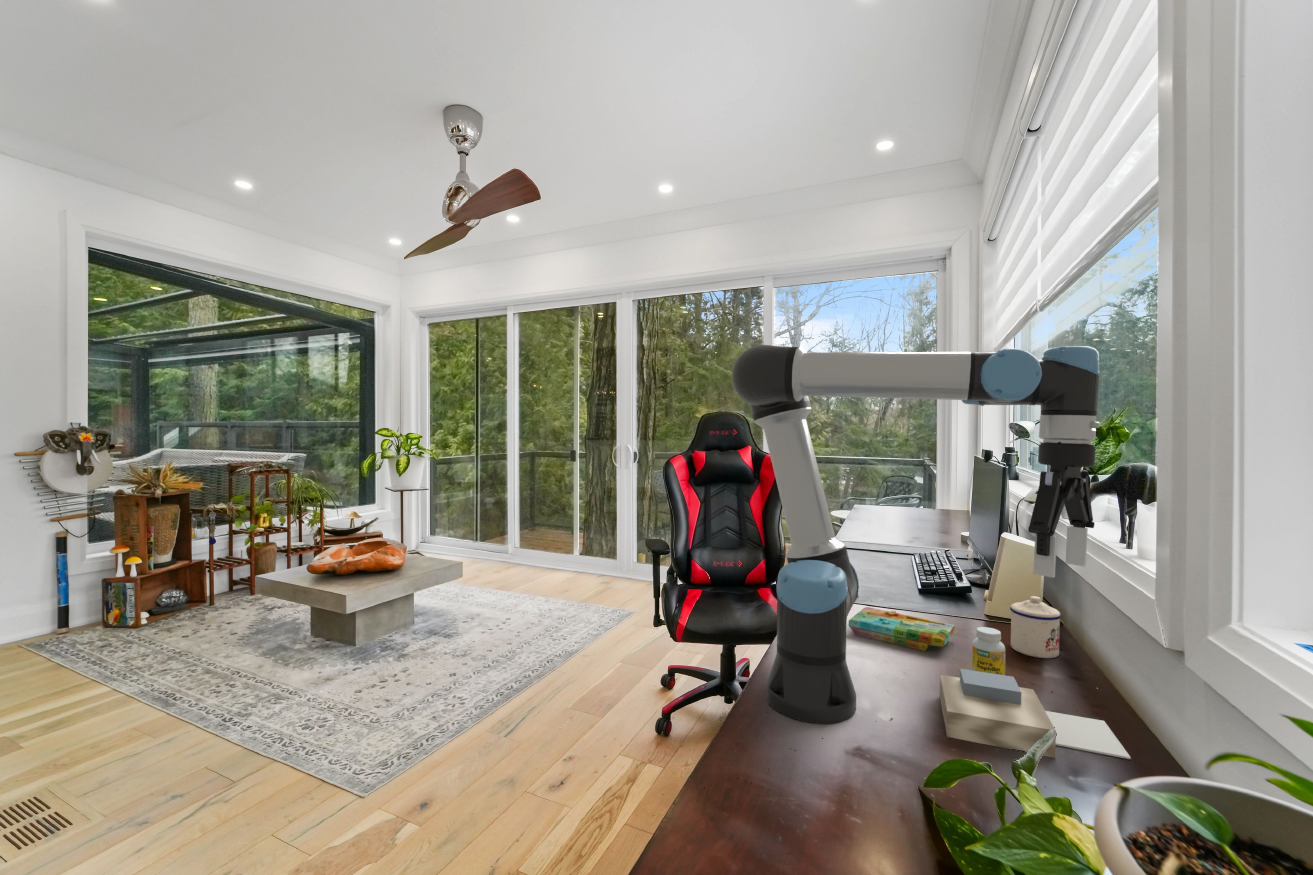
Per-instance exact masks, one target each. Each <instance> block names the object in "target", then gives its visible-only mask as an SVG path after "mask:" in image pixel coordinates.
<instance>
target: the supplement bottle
mask: <svg viewBox="0 0 1313 875" xmlns="http://www.w3.org/2000/svg"><path fill="white" fill-rule="evenodd" d="M1001 632H1002V631H1000V630H999V629H996V628H993V627H986V626H979V627H976V637H975V638H974V640H973V641H972V659H971V660H972V669H971V670H973V671H979V672H986V673H992V674H999V675H1005V676H1006V646H1005V644H1004V643H1003V642H1002V641H1001V640H1002V633H1001Z"/></svg>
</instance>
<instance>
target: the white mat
mask: <svg viewBox="0 0 1313 875" xmlns="http://www.w3.org/2000/svg"><path fill="white" fill-rule="evenodd" d="M1045 712H1046V714H1047V716H1048V717H1049V719H1050V721H1051V723H1052V725H1053V727H1055V730H1056V733H1057V736H1056V746H1059V747H1064V748H1069V749H1073V750H1079V751H1084V752H1090V753H1094V754H1095V753H1096V754H1100V755H1106V756H1110V757H1116V758H1122V759H1125V760H1131V759H1132V758H1131V756H1130V754H1129V753H1128V751H1127V750H1126V749H1125V748H1124V746H1123V744H1122V743H1121V742H1120V741H1119V739H1118V738H1117V736H1116V735H1115V734H1114V732H1113V731H1112V730H1111V728H1110V727H1109V725H1108V724H1107V723H1106V722H1105V720H1100V719H1095V718H1088V717H1082V716H1079V715H1078V716H1077V715H1071V714H1067V713H1066V714H1065V713H1061V712H1053V711H1049V710H1045Z"/></svg>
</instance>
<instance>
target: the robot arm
mask: <svg viewBox="0 0 1313 875" xmlns="http://www.w3.org/2000/svg"><path fill="white" fill-rule="evenodd" d="M1100 377H1101V373H1100V355H1099V351H1098V350H1097V349H1096V348H1095V347H1093V346H1085V345H1084V346H1083V345H1080V346H1079V345H1068V346H1057V347H1056V346H1055V347H1050V348H1047V349H1045V350H1044V352H1043V354H1042V357H1041V359H1037V358H1036V357H1035V355H1033V353H1030V352H1029V351H1026V350H1024V349H1019V348H1003V349H1001V350H998V351H975V352H974V351H973V352H971V351H904V352H903V351H895V352H894V351H889V352H888V351H887V352H886V351H885V352H884V351H882V352H881V351H880V352H877V351H876V352H873V351H872V352H870V351H869V352H868V351H867V352H859V351H858V352H856V351H855V352H847V351H846V352H808V351H807V350H805V349H804V347H802V346H784V345H783V346H780V345H770V344H760V345H759V344H757V345H755V346H754V345H753V346H750V347H749V348H747V349H745V351H742V352H741V354H740V355H739V356H738V357H737V358H736V360H735V362H734V363H733V367H732V370H731V381H732V386H733V389H734V390H735V393H736V394H737V395H738V396H739V398H740V399H741V400H742V401H745V403H747V404H749V406H750V409H751V413H752V418H753V422H754V424H756V425H757V426H759V427H760V428H762V429H763V432H764V435H765V439H766V444H767V447H768V448H767V449H768V452H769V455H770V456H769V457H770V461H771V463H772V468H773V473H774V477H775V481H776V485H777V489H778V493H779V498H780V502H781V505H782V510H783V514H784V518H785V523H786V528H787V532H788V535H789V540H790V543H791V545H790V548H788V550H787V552H786V554H785V556H786V560H787V564H785V565H783V567H781V568H780V570H779V572H778V575H777V582H776V584H775V585H776V599H777V600H776V654H775V657H774V661H773V663H772V666H771V669H770V672H769V675H768V678H767V681H766V687H765V688H766V689H765V690H766V694H765V696H766V697H765V698H766V701H767V702H768V705H770V706H771V707H772V708H773V709H774V710H776V711H777V712H779V713H780V714H782V715H784V716H786V717H789V718H792V719H795V720H798V721H803V722H807V723H815V724H830V723H831V724H832V723H839V722H842V721H845V720H848V719H849V718H851V717H852V716H854V714H855V713H856V711H857V693H856V688H855V686H854V682H853V679H852V677H851V673H850V671H849V670H850V669H849V666H848V664H847V620H848V616H849V613H850V611H851V610H852V608H853V605H854V604H855V603H856V600H857V598H858V594H859V589H860V587H859V586H860V585H859V578H858V574H857V571H856V569H855V567H854V565H853V564H852V563H851V561H850V557H849V554H848V551H847V550H848V549H847V545H846V543H845V542H843V540H840V539H839V538H837V537H836V534H835V531H834V527H833V523H832V518H831V514H830V510H829V506H828V503H827V499H826V494H825V489H824V487H823V481H822V478H821V473H820V469H819V466H818V461H817V457H816V454H815V450H814V445H813V441H812V438H811V433H810V429H809V426H808V422H807V421H808V420H807V419H808V416H809V414H810V413H811V411H812V405H811V402H810V397H832V398H833V397H835V398H836V397H837V398H870V399H871V398H874V399H875V398H877V399H906V400H907V399H909V400H910V399H912V400H913V399H915V400H917V399H918V400H945V401H946V400H947V401H948V400H949V401H950V400H951V401H952V400H953V401H954V400H955V401H961V402H962V403H963V404H965V405H975V406H976V405H977V406H982V407H983V406H1040V416H1039V428H1038V429H1039V432H1038V438H1039V439H1041V440H1042V441H1043V442H1040V443H1039V444H1038V459H1037V460H1038V461H1037V462H1038V463H1039V464H1040V465H1043V466H1044V465H1045V466H1049V471H1041V472H1040V474H1039V485H1038V489H1037V494H1036V497H1035V501H1034V505H1033V509H1032V514H1031V518H1030V522H1029V526H1028V530H1027V531H1028V533H1031V534H1034V554H1033V556H1034V557H1033V572H1032V573H1033V574H1034V575H1038V576H1043V577H1048V578H1052V579H1053V578H1055V577H1056V565H1057V564H1056V562H1057V543H1058V542H1057V541H1058V536H1057V535H1055V533H1056V530H1057V526H1058V524H1059V521H1060V518H1061V515H1062V513H1063V509H1064V508H1065V511H1066V514H1067V519H1068V521H1069V525H1067V527H1066V546H1065V547H1066V548H1065V564H1067V565H1073V566H1080V567H1086V564H1087V548H1088V547H1087V546H1088V545H1087V544H1088V532H1089V531H1088V529H1094V528H1095V522H1094V517H1093V510H1092V502H1091V494H1090V492H1091V491H1090V487H1089V486H1090V484H1089V471H1088V470H1086V469H1085V470H1084V469H1081V468H1092V467H1094V466H1095V464H1096V462H1095V461H1096V446H1095V444H1092V443H1091V442H1092V441H1095V440H1096V438H1097V437H1096V436H1097V433H1096V432H1097V429H1099V428H1100V427H1101V422H1100V421H1097V416H1098V400H1099V399H1098V398H1099V387H1100V386H1099V384H1100Z"/></svg>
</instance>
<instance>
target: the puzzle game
mask: <svg viewBox="0 0 1313 875" xmlns="http://www.w3.org/2000/svg"><path fill="white" fill-rule="evenodd" d="M848 627H849V628H850V630H851V631H852V633H853V634H854V635H855V636H859V637H863V638H869V639H872V640H877V641H880V642H885V643H890V644H894V645H899V646H902V647H907V648H912V649H915V650H920V651H924V652H925V651H927V649H928V648H929V647H930V646H934V647H939V648H941V647H945V646H946V645H947V643H948V641H949V640H950V638H951V637H952V635H953V634H954V632H955V630H956V625H955V624H950V623H947V622H941V621H937V620H931V619H928V618H922V617H917V616H913V615H908V614H903V613H898V612H896V611H894V610H891V611H889V610H884V609H879V608H873V607H870V606H866V607H863V608H862V609H861V610H860V611H858V612H857V613H856V614H854V615H853V617H851V618H850V619H849V620H848Z"/></svg>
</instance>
